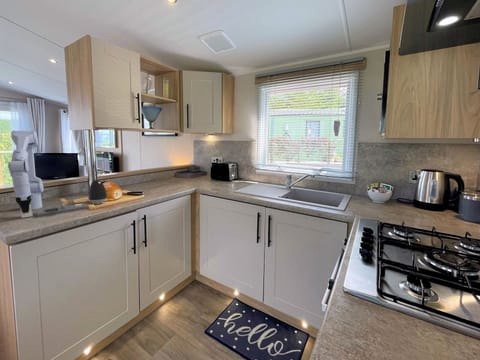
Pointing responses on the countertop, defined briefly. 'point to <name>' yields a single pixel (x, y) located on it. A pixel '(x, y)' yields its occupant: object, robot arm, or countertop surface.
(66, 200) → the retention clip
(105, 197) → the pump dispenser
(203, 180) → the countertop surface
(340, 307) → the countertop surface
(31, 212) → the plug
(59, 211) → the grey recessed block
